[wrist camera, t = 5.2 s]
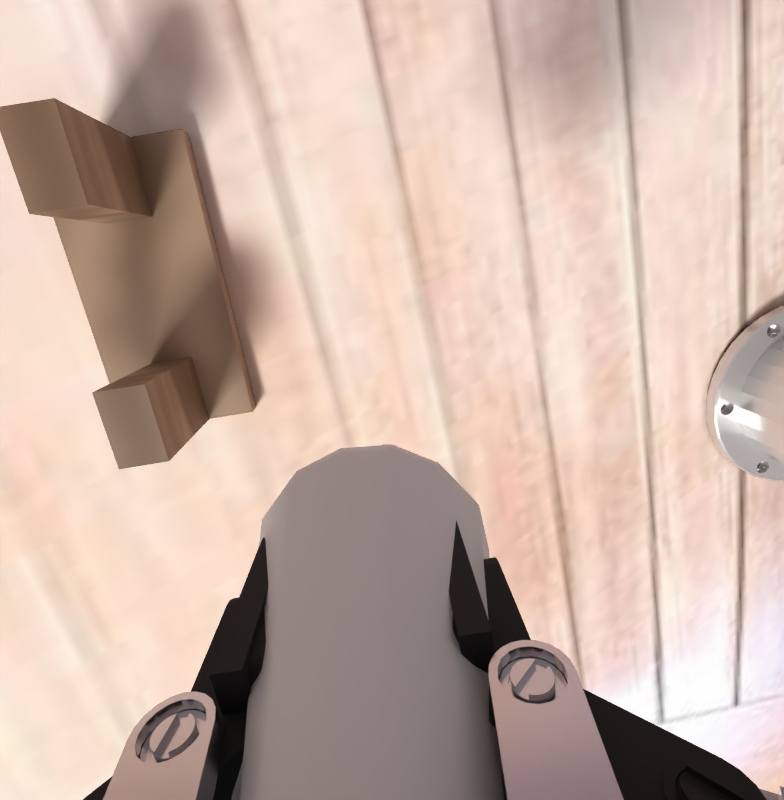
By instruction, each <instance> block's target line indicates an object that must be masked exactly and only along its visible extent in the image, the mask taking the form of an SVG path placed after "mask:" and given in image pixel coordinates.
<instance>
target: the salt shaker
mask: <svg viewBox="0 0 784 800" xmlns="http://www.w3.org/2000/svg"><path fill="white" fill-rule="evenodd" d="M456 520H457V523H458V526H459V530H460V533H461V536H462V539H463V542H464V545H465V548H466V552H467V555H468V558H469V561H470V564H471V567H472V570H473V573H474V577H475V580H476V583H477V586H478V589H479V592H480V595H481V599H482V602H483V605H484V608H485V611H486V614H487V617H488V608H487V596H486V584H485V573H484V561H483V559H489V548H488V544H487V539H486V535H485V531H484V526H483V522H482V517H481V513H480V508H479V505H478V504H477V503H476V501H475V500H474V499H473V498H472V497H471V496H470V495H469V494H468V493H467V492H466V491H465V490H464V489H463V488H462V487H461V486H460V485H459V484H458V483H457V481H456V480H455V479H454V478H453V477H452V476H451V475H450V474H449V473H448V472H447V471H446V470H445V469H444V468H443V467H442V466H441V465H440V464H439V463H437V462H435V461H432V460H430V459H427V458H425V457H422V456H419V455H417V454H414V453H412V452H409V451H407V450H404V449H402V448H399V447H397V446H394V445H381V446H369V447H355V448H341V449H339V450H337V451H335V452H333V453H331V454H329V455H327V456H325V457H323V458H321V459H319V460H318V461H316V462H314V463H312V464H310V465H308V466H306V467H304V468H302V469H300V470H298V471H297V472H296V473H295V474H294V476H293V477H292V478H291V480H290V481H289V483H288V484H287V485H286V487H285V488H284V490H283V491H282V492H281V494H280V495H279V497H278V498H277V499H276V501H275V502H274V504H273V505H272V506H271V508H270V509H269V511H268V512H267V513H266V515H265V516H264V518H263V519H262V526H261V535H260V543H261V541H262V539H263V537H265V540H266V555H267V571H268V591H267V597H266V603H265V607H264V611H265V633H266V645H265V651H264V657H263V664H262V670H261V672H260V674H259V676H258V678H257V679H256V681H255V682H254V683H253V685H252V686H251V691H250V695H249V698H248V706H247V717H246V730H245V744H244V753H243V762H242V765H241V768H240V771H239V775H238V778H237V781H236V784H235V788H234V791H233V794H232V799H231V800H504V786H503V775H502V771H501V761H500V754H499V747H498V741H497V734H496V729H495V728H494V726H493V725H492V724H491V723H490V721H489V677H488V675H489V674H488V673H486V672H484V671H483V670H481V669H479V668H477V667H476V666H474V665H473V664H472V663H471V662H470V661H468V660H467V659H466V658H465V657H464V656H463V655H462V654H461V650H460V645H459V642H458V641H457V639H456V637H455V635H454V632H453V628H452V618H453V610H452V606H451V601H450V596H449V583H450V574H451V565H452V555H453V546H454V537H455V527H456ZM260 543H259V546H260Z"/></svg>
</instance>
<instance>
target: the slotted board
mask: <svg viewBox="0 0 784 800" xmlns="http://www.w3.org/2000/svg"><path fill="white" fill-rule="evenodd" d="M0 132H1V135H2V137H3V140H4V143H5V146H6V149H7V152H8V154H9V157H10V160H11V163H12V166H13V169H14V172H15V174H16V177H17V180H18V183H19V186H20V189H21V191H22V194H23V197H24V200H25V203H26V206H27V208H28V211H29V214H35V215H42V216H50V217H54V220H55V223H56V226H57V229H58V232H59V235H60V238H61V241H62V244H63V247H64V250H65V253H66V256H67V259H68V262H69V265H70V268H71V271H72V274H73V277H74V279H75V282H76V285H77V288H78V291H79V294H80V297H81V300H82V303H83V306H84V309H85V312H86V315H87V318H88V321H89V324H90V327H91V330H92V333H93V336H94V339H95V342H96V344H97V347H98V350H99V353H100V356H101V359H102V362H103V365H104V368H105V371H106V374H107V377H108V380H109V383H110V384H109V385H107V386H105V387H103V388H101V389H99V390H97V391H95V392H93V396H94V399H95V402H96V405H97V408H98V410H99V413H100V416H101V419H102V422H103V425H104V428H105V430H106V433H107V436H108V439H109V442H110V445H111V447H112V450H113V453H114V456H115V459H116V462H117V465H118V467H119V469H123V468H129V467H135V466H141V465H147V464H154V463H160V462H166V461H169V460H170V459H171V458H172V457H173V456H174V455H175V454H176V453H177V452H178V451H179V450H180V449H181V448H182V447H183V446H184V445H185V444H186V443H187V442H188V441H189V439H190V438H191V437H192V436H193V435H194V434H195V433H196V432H197V431H198V430H199V429H200V428H201V427H202V426H203V425H204V424H205V423H206V422H207V421H208V420H209V419H211V418H217V417H223V416H229V415H235V414H242V413H248V412H253V411H254V409H255V408H256V404H255V400H254V396H253V392H252V388H251V384H250V380H249V376H248V372H247V368H246V364H245V360H244V356H243V352H242V348H241V344H240V340H239V336H238V332H237V328H236V324H235V320H234V316H233V312H232V308H231V304H230V300H229V296H228V292H227V288H226V284H225V280H224V276H223V272H222V268H221V264H220V260H219V256H218V252H217V248H216V244H215V240H214V236H213V232H212V228H211V224H210V220H209V216H208V212H207V208H206V204H205V200H204V196H203V192H202V188H201V184H200V180H199V176H198V172H197V168H196V164H195V160H194V156H193V152H192V148H191V144H190V140H189V136H188V133H186V132H185V131H184V130H182V129H178V130H172V131H165V132H159V133H153V134H146V135H140V136H134V137H129V136H127V135H125V134H123V133H121V132H119V131H117V130H115V129H113V128H111V127H109V126H107V125H105V124H103V123H101V122H100V121H98V120H96V119H94V118H92V117H90V116H88V115H86V114H84V113H82V112H80V111H78V110H76V109H74V108H72V107H70V106H68V105H66V104H64V103H62V102H60V101H59V100H57V99H55V98H53V99H47V100H40V101H34V102H28V103H21V104H15V105H9V106H2V107H0Z"/></svg>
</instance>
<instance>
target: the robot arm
mask: <svg viewBox="0 0 784 800" xmlns="http://www.w3.org/2000/svg"><path fill="white" fill-rule="evenodd" d="M706 415H707V424H708V429H709V432H710V435H711V437H712V440H713V442H714V444H715V445H716V447H717V448H718V450H719V452H720V453H721V454H722V455H723V456H724V457H725V458H726V459H727V460H728V461H729V462H730V463H732V464H733V465H735V466H737V467H738V468H740V469H741V470H743V471H745V472H747V473H749V474H751V475H753V476H755V477H758V478H762V479H767V480H772V481H784V305H782V306H780V307H777V308H776V309H774V310H772V311H770V312H768V313H767V314H765V315H763V316H761V317H760V318H759V319H757V320H756V321H755V322H754V323H752V324H751V325H750V326H748V327H747V328H746V329H745V330H744V331H743V332H742V333H741V334H740V335H739V336H738V337H737V338H736V339H735V340H734V341H733V343H732V344H731V345H730V347H729V348H728V349H727V351H726V352H725V354H724V355H723V357H722V358H721V360H720V362H719V364H718V366H717V368H716V370H715V372H714V374H713V376H712V380H711V383H710V387H709V391H708V394H707V405H706ZM483 561H484V573H485V584H486V596H487V608H488V617H487V614H486V611H485V608H484V605H483V602H482V599H481V595H480V592H479V589H478V586H477V583H476V580H475V577H474V573H473V570H472V567H471V564H470V561H469V558H468V555H467V552H466V548H465V545H464V542H463V539H462V536H461V533H460V530H459V526H458V523H457V520H456V527H455V537H454V546H453V555H452V565H451V574H450V583H449V596H450V601H451V606H452V610H453V618H452V628H453V632H454V635H455V637H456V639H457V641H458V642H459V645H460V650H461V654H462V655H463V656H464V657H465V658H466V659H467V660H468V661H470V662H471V663H472V664H473V665H474V666H476V667H477V668H479V669H481V670H483V671H484V672H486V673H488V674H489V675H488V677H489V721H490V723H491V724H492V725H493V726H494V728H495V729H496V734H497V741H498V747H499V754H500V761H501V771H502V775H503V786H504V800H784V787H781V786H780V788H779V795H778V794H775V793H771V792H768V791H765V790H761V789H759V788H758V787H757V785H756V784H754V783H753V782H752V781H751V780H750V779H749V778H748V777H747V776H746V775H745V774H744V773H743V772H741V771H740V770H739V769H738V768H736V767H734V766H733V765H731V764H730V763H728V762H726V761H725V760H723V759H722V758H720V757H718V756H716V755H714V754H712V753H710V752H708V751H706V750H704V749H702V748H700V747H698V746H696V745H694V744H692V743H690V742H688V741H686V740H684V739H682V738H680V737H678V736H676V735H674V734H672V733H670V732H668V731H666V730H664V729H662V728H660V727H658V726H656V725H654V724H652V723H650V722H648V721H646V720H644V719H642V718H640V717H638V716H636V715H634V714H632V713H630V712H628V711H626V710H624V709H622V708H620V707H618V706H616V705H614V704H612V703H610V702H608V701H606V700H604V699H602V698H600V697H598V696H596V695H594V694H592V693H590V692H588V691H586V690H584V689H583V688H582V685H581V682H580V679H579V677H578V674H577V671H576V669H575V667H574V666H573V664H572V662H571V660H570V659H569V658H568V657H567V656H566V655H565V654H564V653H563V652H562V651H561V650H559V649H557V648H555V647H553V646H552V645H550V644H547V643H544V642H540V641H536V640H531V639H530V637H529V634H528V632H527V630H526V627H525V625H524V622H523V620H522V618H521V615H520V613H519V610H518V608H517V605H516V603H515V601H514V598H513V596H512V593H511V591H510V588H509V586H508V584H507V581H506V579H505V576H504V574H503V572H502V569H501V567H500V564H499V562H498V560H497V558H489V559H483ZM267 591H268V571H267V555H266V540H265V537H263V539H262V541H261V543H260V546H259V548H258V551H257V554H256V556H255V559H254V561H253V564H252V566H251V569H250V572H249V574H248V577H247V579H246V582H245V584H244V587H243V589H242V592H241V595H240V597H239V598H234V599H232V600H230V601H229V603H228V604H227V606H226V609H225V611H224V614H223V616H222V618H221V621H220V623H219V625H218V628H217V630H216V633H215V635H214V637H213V640H212V642H211V645H210V647H209V649H208V652H207V654H206V657H205V659H204V661H203V664H202V666H201V669H200V671H199V673H198V676H197V678H196V681H195V683H194V685H193V688H192V690H191V692H186V693H181V694H178V695H176V696H173V697H170V698H168V699H167V700H165V701H163V702H161V703H160V704H158V705H157V706H155V707H154V708H153V709H152V710H151V711H149V712H148V713H147V714H146V715H145V716H144V717H143V718H142V719H141V720H140V721H139V723H138V724H137V725H136V726H135V727H134V729H133V731H132V733H131V734H130V736H129V738H128V740H127V742H126V745H125V747H124V750H123V752H122V754H121V757H120V759H119V762H118V764H117V767H116V769H115V771H114V774H113V776H112V777H111V778H110V779H108V780H107V781H106V782H105V783H103V784H102V785H101V786H100V787H98V788H97V789H96V790H94V791H93V792H92V793H91V794H89V795H88V796H87V797H86V798H84V799H83V800H231V799H232V794H233V791H234V788H235V784H236V781H237V778H238V775H239V771H240V768H241V765H242V762H243V753H244V744H245V730H246V717H247V706H248V698H249V695H250V691H251V686H252V685H253V683H254V682H255V681H256V679H257V678H258V676H259V674H260V672H261V670H262V664H263V657H264V651H265V645H266V633H265V611H264V607H265V603H266V597H267Z"/></svg>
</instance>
